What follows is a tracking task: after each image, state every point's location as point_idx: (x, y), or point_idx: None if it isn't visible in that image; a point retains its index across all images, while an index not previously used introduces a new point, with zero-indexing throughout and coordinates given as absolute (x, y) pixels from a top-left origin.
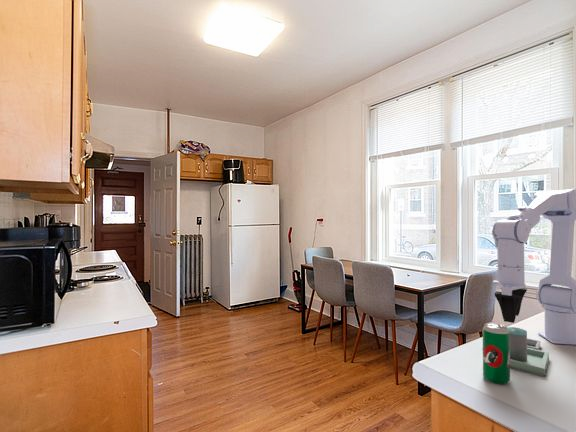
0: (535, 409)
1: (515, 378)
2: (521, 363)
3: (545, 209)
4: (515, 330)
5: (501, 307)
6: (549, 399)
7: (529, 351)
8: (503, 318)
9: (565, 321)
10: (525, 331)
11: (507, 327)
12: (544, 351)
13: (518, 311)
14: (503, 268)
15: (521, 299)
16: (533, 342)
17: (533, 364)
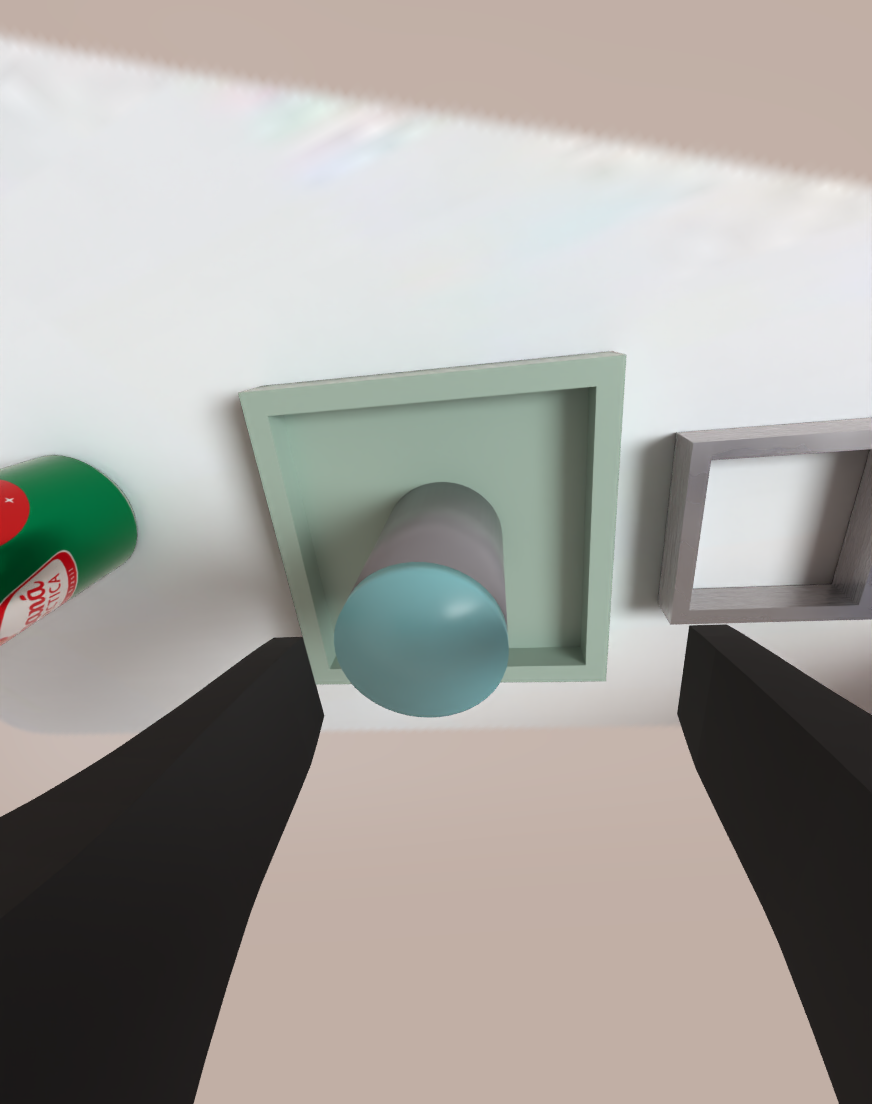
0: (8, 661)
1: (191, 571)
2: (293, 597)
3: None
4: (402, 649)
5: (96, 777)
6: (127, 685)
7: (586, 589)
8: (247, 656)
9: None
10: (438, 709)
11: (445, 582)
12: (605, 663)
13: (702, 768)
14: None
15: (823, 1051)
16: (853, 574)
17: None
